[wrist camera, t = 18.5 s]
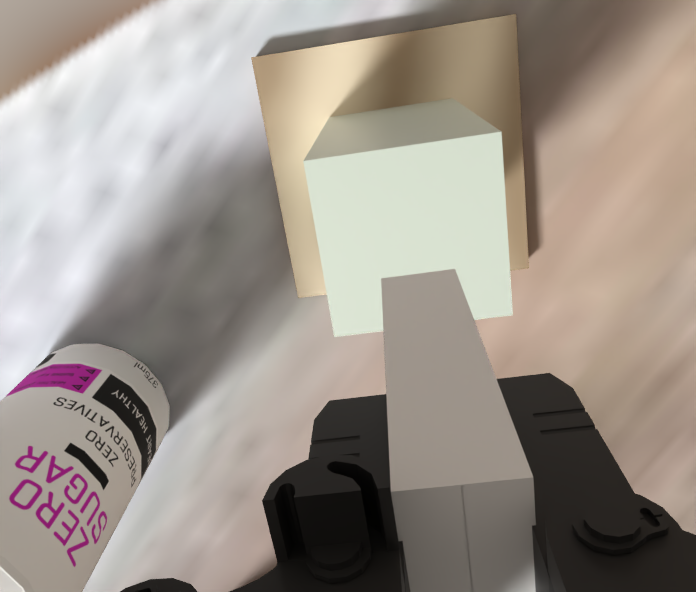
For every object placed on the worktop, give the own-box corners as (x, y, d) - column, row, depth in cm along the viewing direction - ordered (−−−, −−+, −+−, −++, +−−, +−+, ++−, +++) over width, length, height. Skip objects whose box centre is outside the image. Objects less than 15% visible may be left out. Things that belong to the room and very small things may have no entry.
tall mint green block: (452, 98, 29) (501, 131, 18) (463, 218, 31) (512, 315, 20) (329, 117, 30) (303, 160, 19) (347, 234, 32) (334, 337, 21)
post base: (511, 14, 29) (559, 4, 21) (524, 262, 33) (568, 325, 26) (255, 57, 30) (216, 61, 22) (300, 291, 34) (280, 359, 27)
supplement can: (18, 424, 38) (-186, 642, 24) (60, 313, 35) (-144, 489, 21) (144, 477, 39) (18, 716, 25) (194, 375, 36) (83, 580, 22)
